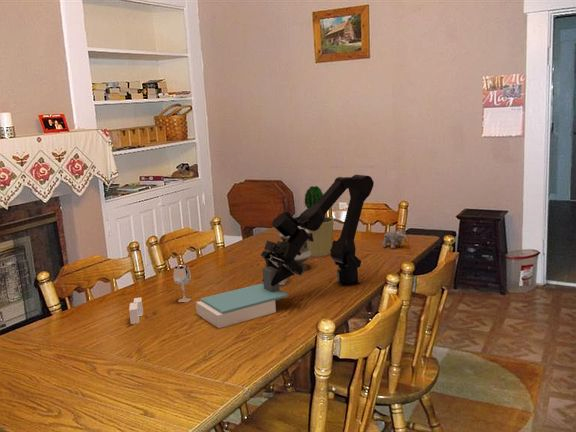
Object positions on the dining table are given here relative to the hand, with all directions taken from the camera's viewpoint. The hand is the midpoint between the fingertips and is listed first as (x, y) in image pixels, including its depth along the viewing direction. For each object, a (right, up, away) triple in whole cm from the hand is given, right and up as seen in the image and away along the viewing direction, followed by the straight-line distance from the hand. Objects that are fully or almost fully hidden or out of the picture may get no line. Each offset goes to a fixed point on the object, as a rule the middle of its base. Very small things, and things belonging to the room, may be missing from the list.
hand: (267, 283), depth 191 cm
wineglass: (-29, -7, +11) cm, 32 cm away
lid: (-7, -7, -3) cm, 11 cm away
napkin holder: (-41, -11, -3) cm, 43 cm away
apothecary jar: (+10, +1, +41) cm, 42 cm away
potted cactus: (+20, +6, +62) cm, 65 cm away
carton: (-10, -9, -5) cm, 14 cm away
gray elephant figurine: (+54, +8, +63) cm, 84 cm away
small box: (+4, -2, +24) cm, 25 cm away
